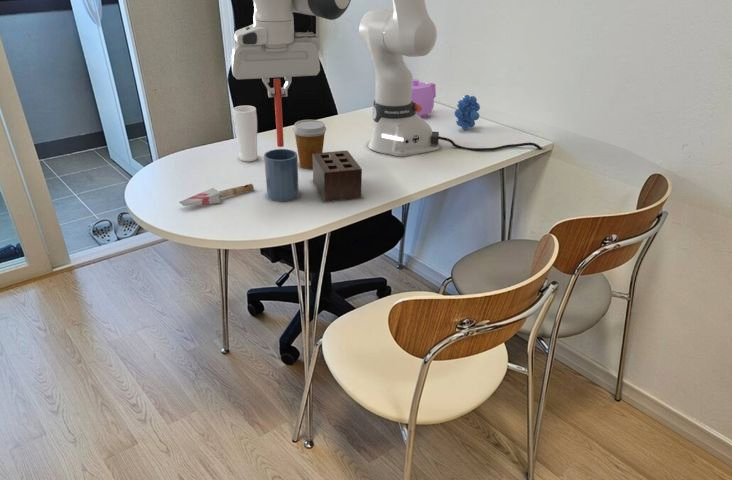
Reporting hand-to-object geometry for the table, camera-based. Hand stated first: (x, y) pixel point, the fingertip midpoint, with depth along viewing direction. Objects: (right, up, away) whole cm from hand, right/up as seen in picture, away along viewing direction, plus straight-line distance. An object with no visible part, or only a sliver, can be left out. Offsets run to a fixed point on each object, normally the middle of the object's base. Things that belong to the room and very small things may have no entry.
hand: (277, 96), depth 132 cm
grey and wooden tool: (-17, -23, +11) cm, 30 cm away
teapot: (+40, +18, +73) cm, 86 cm away
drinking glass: (-13, -7, +35) cm, 38 cm away
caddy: (+14, -19, +17) cm, 29 cm away
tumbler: (0, -21, +14) cm, 25 cm away
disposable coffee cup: (+6, -10, +32) cm, 34 cm away
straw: (0, -10, +7) cm, 12 cm away
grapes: (+58, +8, +60) cm, 84 cm away
